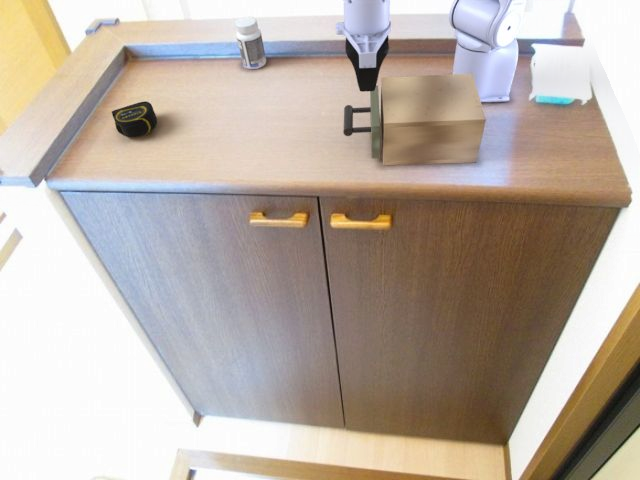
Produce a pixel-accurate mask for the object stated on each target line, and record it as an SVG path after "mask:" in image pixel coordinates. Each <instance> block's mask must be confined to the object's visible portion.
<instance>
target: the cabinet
mask: <svg viewBox="0 0 640 480" xmlns="http://www.w3.org/2000/svg"><path fill="white" fill-rule="evenodd" d="M482 104H483V103H481V101H480V97H479V94H478V91H477V87H476V84H475V81H474V77H473V74H472V73H468V74H452V73H450V74H448V73H447V74H430V75H411V76H407V75H406V76H392V77H391V76H390V77H389V76H388V77H381V78H380V138H381V153H382V154H381V155H382V165H383V166H406V165H408V166H409V165H436V164H437V165H441V164H442V165H443V164H473V163H477V160H478V156H479V152H480V147H481V144H482V138H483V135H484V130H485V126H486V122H487V118H486V115H485V112H484V108H483V105H482Z"/></svg>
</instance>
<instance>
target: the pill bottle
mask: <svg viewBox="0 0 640 480" xmlns="http://www.w3.org/2000/svg"><path fill="white" fill-rule="evenodd" d="M235 28H236V33H235V34H236V35H235V36H236V41H237V45H238V49H239V54H240V58H241V61H242V66H243V67H244V68H245V69H248V70H258V69H261V68H262V67H264V66H265V65H266V64H267V56H266V52H265V51H266V50H265V46H264V41H263V36H262V32H261V29H260V28H259V25H258V21H257V18H256V17H254V16H243V17H240V18H239V19H237V20H236V21H235Z"/></svg>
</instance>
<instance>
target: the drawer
mask: <svg viewBox="0 0 640 480" xmlns="http://www.w3.org/2000/svg"><path fill="white" fill-rule="evenodd" d="M379 98H380V97H379V85H377V84H376V88H375V91H369V106H367V107H366V106H365V107H353V105H351V104H347V105H345V106H344V108H343V130H342V131H343V132H342V134H343V135H344V136H346V137H350V136H352V135H353V134H359V133H361V134H362V133H370V149H371V150H370V151H371V153H370V154H371V159H380V158H381V153H380V152H381V148H380V147H381V113H380V99H379ZM361 113H362V114H364V113H366V114H367V113H369V117H370V120H369V121H370V126H359V127H357V126H355V127H354V114H361Z"/></svg>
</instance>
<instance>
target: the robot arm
mask: <svg viewBox="0 0 640 480" xmlns="http://www.w3.org/2000/svg"><path fill="white" fill-rule="evenodd" d="M526 4H527V0H453V2H452V4H451V6H450V9H449V14H448V20H449V21H448V22H449V24H450V27H451V28H453V29H454V36H453V37H455V38H456V46H455V51H454V52H455V53H454V58H453V59H454V60H453V65H452V66H453V67H452V73H451V74H468V73H472V74H473V77H474V81H475V84H476V87H477V91H478V94H479V97H480V101H481V104H483V103H505V102H509V101H510V92H511V89H512V85H513V82H514V81H513V80H514V76H515V73H516V69H517V64H518V60H519V59H518V58H519V44H518V43H519V42H518V41H517V38H516V37H517V35H518V34H519V32H520V30H521V28H522V25H523V21H524V10H525V6H526ZM390 13H391V0H343V21H342V22H337V23H335V34H336V35H338V36H340V35H341V36H345V45H344V46H345V47H344V49H345V54H346V57H347V58H348V60H349V61H350V63H351V65H352V67H353V70H354V73H355V78H356V82H357V86H358V89H359V91H360V92H361V93H362V92H370V91H375V88H376V85H377V83H378V80H379V75H380V70H381V68H382V65H383V62H384V61H385V59H386V57H387V56H388V54H389V51H390V44H389V34H390V32H391V31H392V22H391V20H390V19H391V17H390V15H391V14H390Z"/></svg>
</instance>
